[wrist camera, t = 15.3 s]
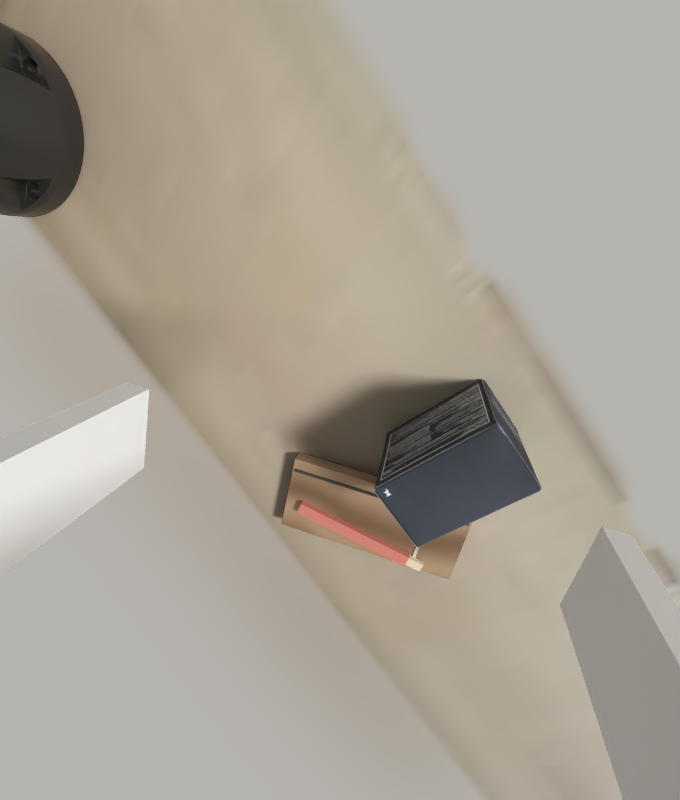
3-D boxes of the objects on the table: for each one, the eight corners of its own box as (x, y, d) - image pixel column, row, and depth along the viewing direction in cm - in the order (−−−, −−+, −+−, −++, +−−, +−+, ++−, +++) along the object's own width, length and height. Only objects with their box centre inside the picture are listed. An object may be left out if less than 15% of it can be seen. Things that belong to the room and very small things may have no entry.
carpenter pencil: (298, 509, 46) (296, 512, 46) (303, 500, 46) (301, 504, 45) (419, 568, 46) (418, 573, 45) (424, 560, 45) (424, 565, 44)
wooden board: (299, 452, 46) (294, 459, 44) (474, 506, 44) (475, 515, 42) (286, 515, 49) (281, 524, 47) (448, 569, 47) (449, 579, 45)
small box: (421, 485, 44) (416, 553, 35) (384, 433, 43) (367, 488, 34) (521, 434, 41) (546, 494, 31) (483, 376, 40) (496, 419, 30)
